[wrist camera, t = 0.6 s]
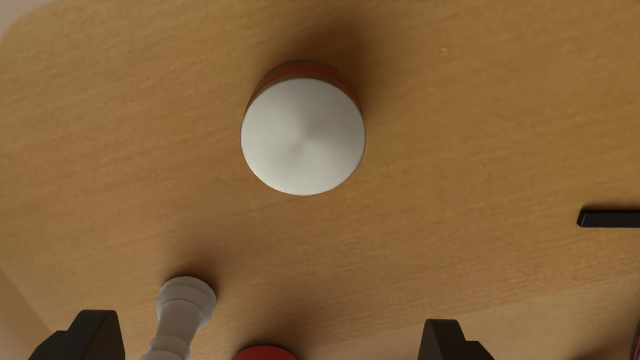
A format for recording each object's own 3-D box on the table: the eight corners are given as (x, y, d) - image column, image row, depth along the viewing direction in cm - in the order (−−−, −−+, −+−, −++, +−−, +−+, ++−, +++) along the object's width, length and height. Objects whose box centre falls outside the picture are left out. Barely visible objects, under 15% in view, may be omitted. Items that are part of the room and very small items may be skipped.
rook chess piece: (202, 265, 34) (173, 348, 27) (226, 308, 36) (205, 395, 29) (150, 281, 34) (107, 366, 27) (176, 322, 36) (144, 411, 29)
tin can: (226, 101, 28) (212, 125, 24) (318, 35, 27) (320, 49, 22) (291, 183, 31) (288, 217, 27) (379, 128, 29) (390, 155, 25)
